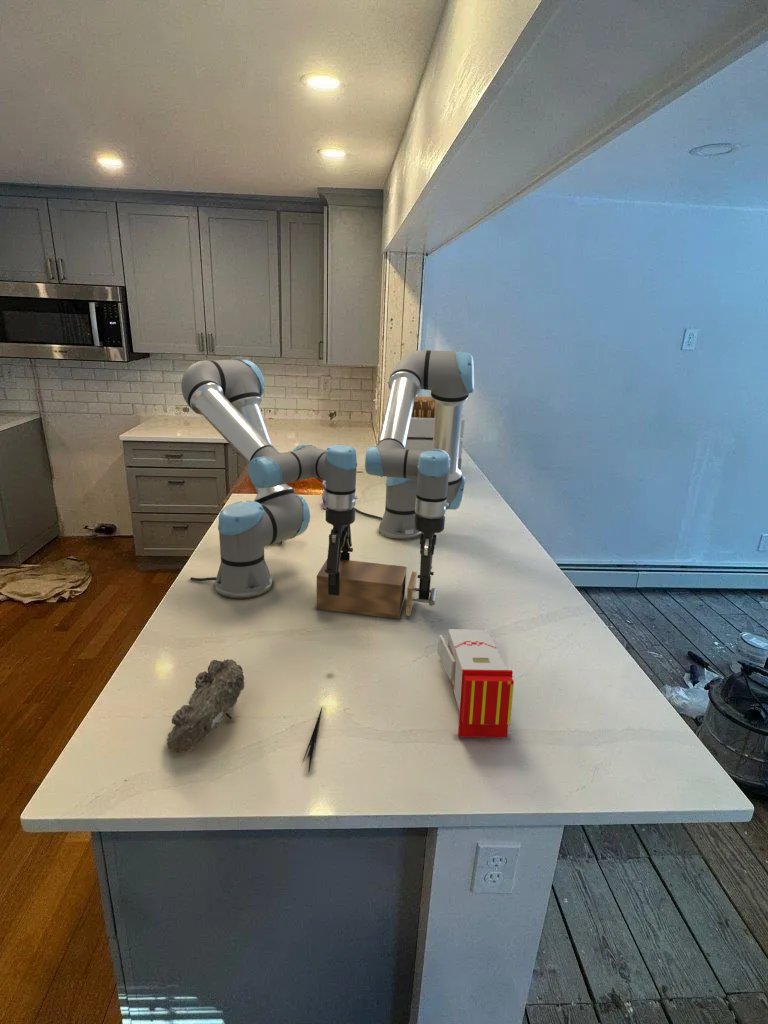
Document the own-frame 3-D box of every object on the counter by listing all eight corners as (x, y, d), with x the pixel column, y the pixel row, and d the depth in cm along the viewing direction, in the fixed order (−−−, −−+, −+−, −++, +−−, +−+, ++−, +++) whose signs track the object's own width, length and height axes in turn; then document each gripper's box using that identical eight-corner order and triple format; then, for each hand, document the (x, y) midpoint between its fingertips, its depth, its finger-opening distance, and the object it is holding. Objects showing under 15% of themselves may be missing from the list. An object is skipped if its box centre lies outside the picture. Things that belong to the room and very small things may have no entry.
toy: (488, 613, 130) (523, 677, 101) (484, 667, 133) (517, 744, 104) (435, 612, 130) (455, 676, 101) (432, 666, 133) (451, 743, 103)
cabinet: (404, 598, 156) (406, 566, 152) (399, 619, 145) (401, 585, 142) (327, 589, 159) (327, 557, 155) (316, 608, 148) (316, 575, 145)
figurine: (325, 511, 218) (326, 473, 213) (316, 503, 226) (316, 467, 221) (348, 508, 222) (349, 471, 217) (337, 500, 231) (338, 465, 225)
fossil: (192, 660, 117) (244, 628, 112) (224, 691, 120) (276, 661, 115) (142, 746, 98) (202, 712, 93) (182, 779, 101) (242, 748, 96)
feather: (331, 679, 122) (336, 673, 122) (307, 777, 96) (313, 769, 95) (324, 675, 122) (329, 669, 121) (298, 772, 95) (304, 764, 95)
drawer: (436, 600, 154) (438, 574, 151) (433, 618, 144) (435, 591, 142) (341, 588, 157) (341, 563, 155) (332, 606, 148) (332, 579, 145)
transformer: (382, 463, 289) (386, 382, 275) (445, 464, 293) (451, 384, 279) (390, 482, 257) (394, 392, 243) (460, 483, 261) (468, 394, 247)
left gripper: (344, 524, 132) (342, 607, 140) (364, 494, 154) (361, 566, 162) (313, 521, 133) (313, 603, 141) (337, 491, 155) (336, 564, 163)
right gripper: (443, 524, 134) (436, 612, 142) (446, 507, 146) (439, 589, 154) (412, 521, 135) (406, 609, 143) (417, 504, 147) (412, 586, 155)
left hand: (339, 584), depth 151 cm, fingers closed on cabinet, 11 cm apart
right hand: (423, 599), depth 148 cm, fingers closed
